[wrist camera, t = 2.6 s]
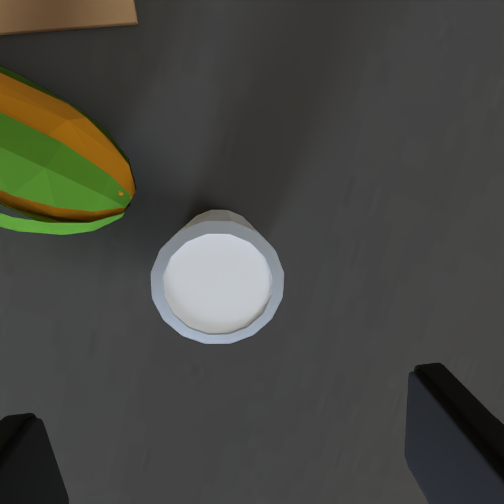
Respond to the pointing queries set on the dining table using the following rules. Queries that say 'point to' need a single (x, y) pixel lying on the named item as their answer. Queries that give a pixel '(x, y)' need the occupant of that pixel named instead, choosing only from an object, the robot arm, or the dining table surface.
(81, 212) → the corn
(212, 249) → the shot glass
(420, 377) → the robot arm
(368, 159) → the dining table surface
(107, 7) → the placemat
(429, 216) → the dining table surface
